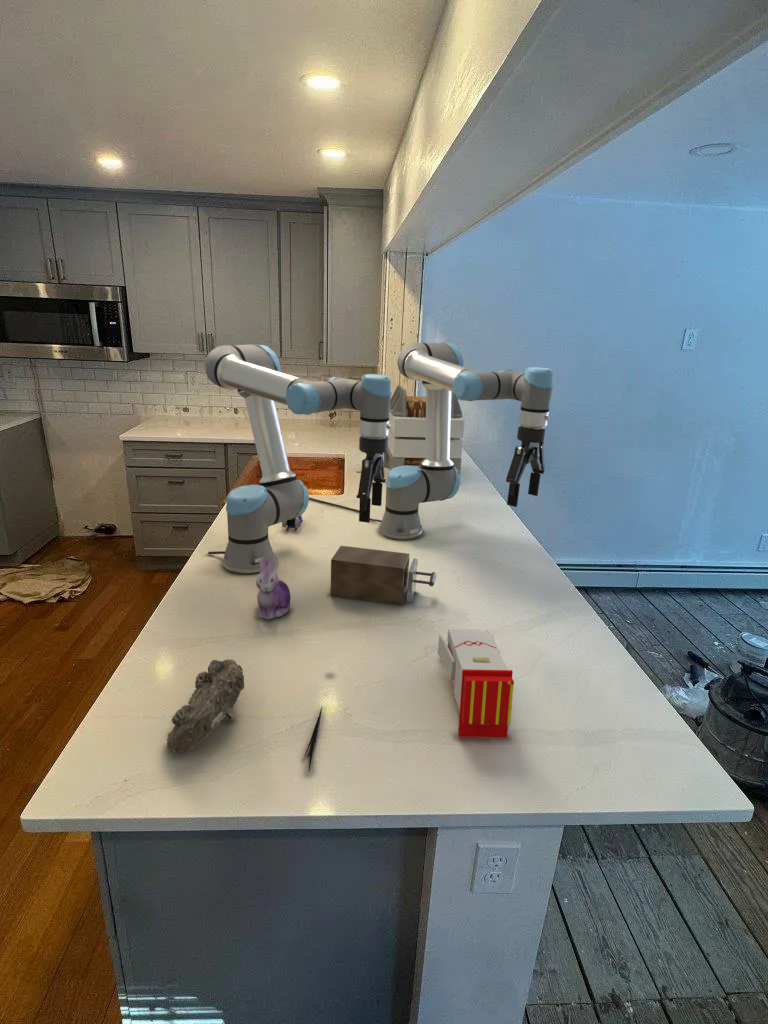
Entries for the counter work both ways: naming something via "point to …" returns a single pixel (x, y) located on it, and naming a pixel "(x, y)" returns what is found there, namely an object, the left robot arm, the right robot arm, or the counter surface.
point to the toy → (478, 682)
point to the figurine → (271, 591)
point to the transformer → (417, 431)
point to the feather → (313, 740)
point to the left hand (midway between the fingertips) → (370, 513)
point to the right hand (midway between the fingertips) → (522, 500)
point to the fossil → (206, 705)
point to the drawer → (413, 581)
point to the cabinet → (369, 574)
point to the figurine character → (293, 523)
